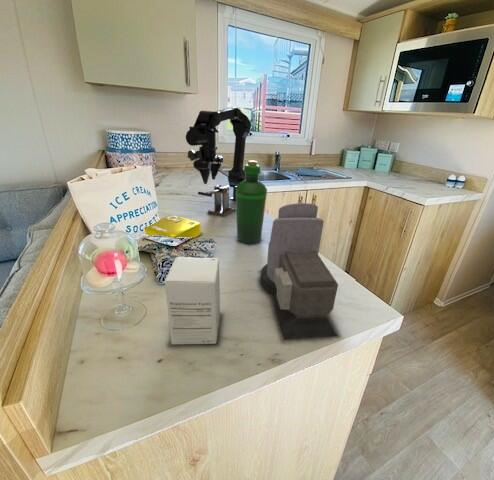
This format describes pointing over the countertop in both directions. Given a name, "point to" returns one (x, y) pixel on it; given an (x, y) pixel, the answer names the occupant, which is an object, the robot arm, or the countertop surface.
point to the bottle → (250, 205)
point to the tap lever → (211, 192)
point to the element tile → (174, 227)
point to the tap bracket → (223, 208)
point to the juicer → (299, 274)
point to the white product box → (193, 300)
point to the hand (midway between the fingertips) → (209, 181)
